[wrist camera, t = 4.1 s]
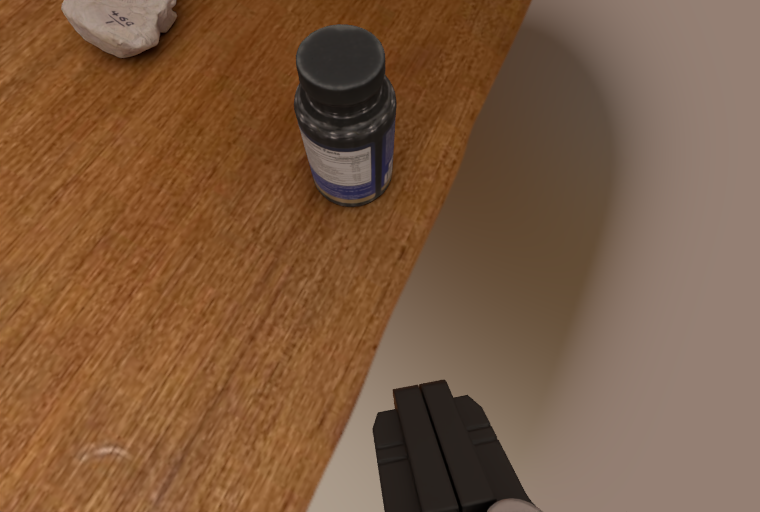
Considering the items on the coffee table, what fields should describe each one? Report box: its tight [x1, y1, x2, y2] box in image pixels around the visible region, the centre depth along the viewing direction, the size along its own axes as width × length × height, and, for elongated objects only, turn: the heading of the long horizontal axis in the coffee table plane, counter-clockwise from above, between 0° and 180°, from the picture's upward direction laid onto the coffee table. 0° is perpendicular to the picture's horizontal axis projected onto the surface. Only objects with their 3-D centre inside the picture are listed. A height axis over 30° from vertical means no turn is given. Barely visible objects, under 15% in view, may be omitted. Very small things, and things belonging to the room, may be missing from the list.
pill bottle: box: [294, 24, 396, 207], centre depth 25 cm, size 6×6×11 cm
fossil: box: [61, 0, 177, 58], centre depth 34 cm, size 9×6×10 cm
